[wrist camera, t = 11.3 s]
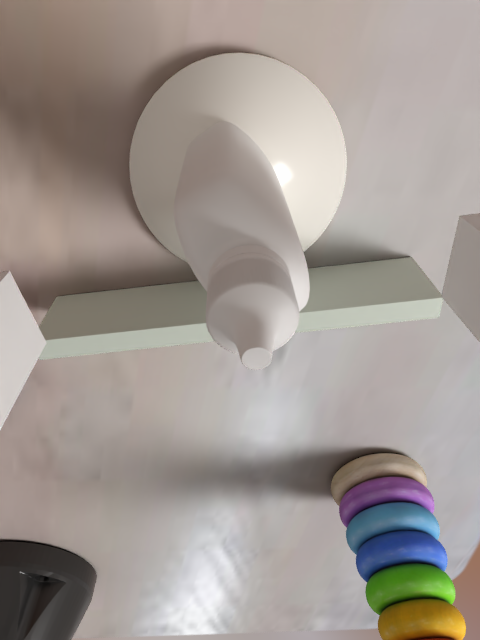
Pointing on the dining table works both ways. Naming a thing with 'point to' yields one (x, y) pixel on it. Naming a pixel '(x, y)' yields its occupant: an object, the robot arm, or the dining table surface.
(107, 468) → the dining table surface
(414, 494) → the stacking toy
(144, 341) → the rail
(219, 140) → the eye dropper bottle
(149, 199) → the coaster
